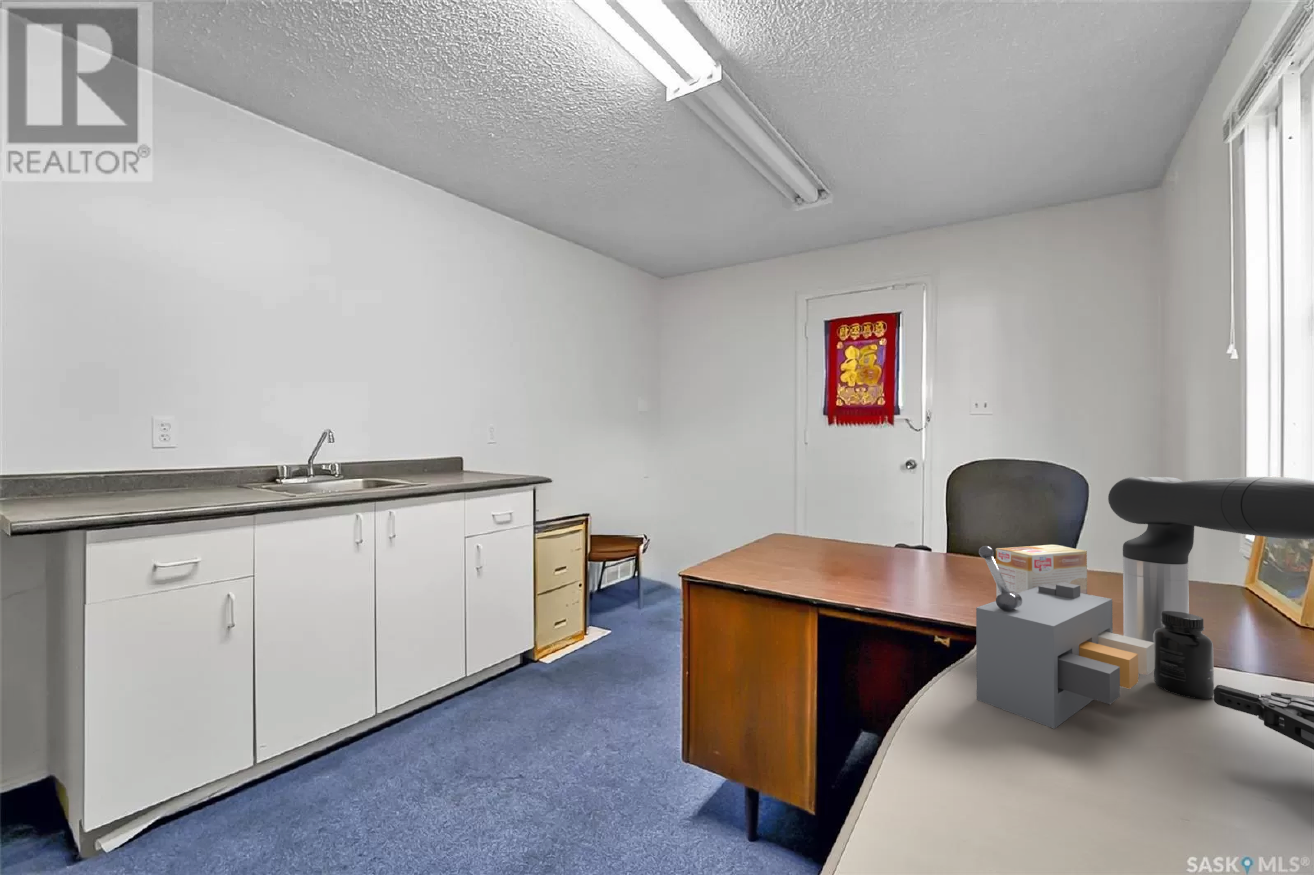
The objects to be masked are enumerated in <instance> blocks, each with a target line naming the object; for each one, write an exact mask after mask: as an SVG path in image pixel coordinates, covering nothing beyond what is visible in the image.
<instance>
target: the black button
mask: <svg viewBox="0 0 1314 875" xmlns="http://www.w3.org/2000/svg"><path fill="white" fill-rule="evenodd" d="M1058 688H1060V689H1063V690H1066V691H1069V692H1073V693H1076V694H1079V695H1082V696H1085V697H1088V698H1091V699H1094V700H1093V701H1097V702H1101V703H1104V704H1108V705H1111V704H1112V703H1114V702H1115V701H1117V700H1118V699H1119V698H1121V686H1120V667H1119V666H1115V665H1111V664H1108V663H1104V662H1100V661H1097V660H1093V659H1089V658H1086V657H1082V656H1078V655H1074V654H1071V653H1067V652H1064V653H1063V654H1061V655H1059V656H1058Z"/></svg>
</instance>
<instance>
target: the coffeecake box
mask: <svg viewBox="0 0 1314 875" xmlns="http://www.w3.org/2000/svg"><path fill="white" fill-rule="evenodd" d="M1087 553H1088V550H1085V549H1080V548H1073V547H1069V546H1065V545H1059V544H1043V545H1030V546H1029V545H1028V546H1013V547H997V548H995V562H996V564H997V566H998V568H999V571H1000V573H1001V575H1002V577H1003V579H1004V581H1005V583H1006V585H1007V587H1008V590H1009V592H1010V591H1013V592H1016V593H1020V592H1023V591H1026V590H1029V589H1032V588H1035V587H1038V586H1041V585H1044V584H1049V585H1055V586H1056V585H1057V584H1059V583H1062V582H1064V583H1070V584H1075V585H1080V593H1083V594H1088V558H1087V556H1088V554H1087ZM995 584H996V583H995ZM995 589H996V593H995V594H996V595H995V596H996V598H997V596H998V595H1000V594H1001V593H1000V591H999V589H998V587H997V584H996V587H995ZM996 598H995V599H996Z"/></svg>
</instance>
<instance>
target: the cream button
mask: <svg viewBox="0 0 1314 875" xmlns="http://www.w3.org/2000/svg"><path fill="white" fill-rule="evenodd" d="M1098 644H1100V645H1104V646H1108V647H1112V648H1116V649H1120V650H1124V651H1128V652H1132V653H1136V654H1138V674H1140V675H1145V676H1148V675H1149V674H1150V673H1152V672H1154V669H1155V648H1154V643H1153V642H1149V641H1145V640H1140V639H1136V638H1132V637H1127V636H1124V634H1120V633H1119V634H1118V633H1114V632H1113V633H1110V632H1106V631H1103V632H1101V633H1099V634H1098Z"/></svg>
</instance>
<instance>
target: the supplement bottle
mask: <svg viewBox="0 0 1314 875" xmlns="http://www.w3.org/2000/svg"><path fill="white" fill-rule="evenodd" d="M1161 617H1162V619H1161V623H1162V624H1163V627H1159V628H1157V629H1156V630H1155V631H1154V634H1153V643H1154V648H1155V669H1154V670H1153V681H1154V683H1155V684H1156V686H1157V687H1159V688H1160V689H1161V690H1162V689H1163V690H1164V691H1166V692H1168V693H1172V694H1175V695H1178V696H1181V697H1187V698H1191V699H1198V700H1199V699H1201V700H1208V699H1211V698H1212V697H1214V689H1215V681H1214V680H1215V675H1214V674H1215V672H1214V671H1215V670H1214V668H1215V666H1214V644H1213V641H1212V640H1211V638H1210V637H1208V636H1207V635H1206V634H1204V633H1203V632H1204V631H1205V626H1204V618H1203V617H1202V616H1199V615H1196V614H1193V613H1189V614H1188V613H1183V612H1176V611H1163V612H1162V613H1161Z"/></svg>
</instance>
